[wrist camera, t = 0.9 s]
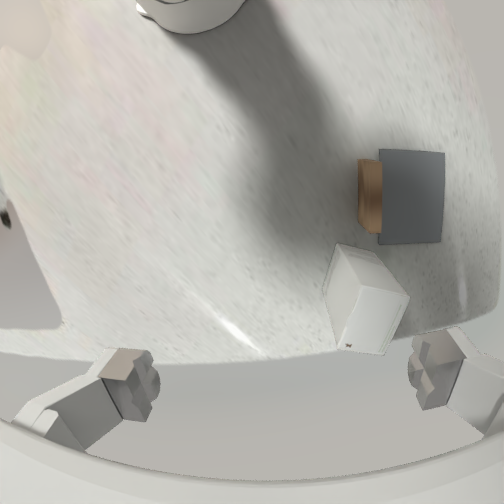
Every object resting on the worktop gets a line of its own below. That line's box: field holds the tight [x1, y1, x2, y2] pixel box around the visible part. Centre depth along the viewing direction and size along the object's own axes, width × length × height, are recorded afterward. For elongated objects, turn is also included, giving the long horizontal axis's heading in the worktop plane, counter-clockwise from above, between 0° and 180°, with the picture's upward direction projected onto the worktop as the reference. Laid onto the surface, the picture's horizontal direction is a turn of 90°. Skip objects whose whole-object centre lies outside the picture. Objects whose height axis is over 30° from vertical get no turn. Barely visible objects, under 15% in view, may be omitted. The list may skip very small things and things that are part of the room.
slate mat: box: [378, 149, 445, 245], centre depth 40 cm, size 14×11×1 cm
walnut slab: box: [358, 159, 382, 233], centre depth 38 cm, size 9×2×6 cm, turn 4°
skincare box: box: [322, 243, 411, 355], centre depth 38 cm, size 8×7×16 cm
